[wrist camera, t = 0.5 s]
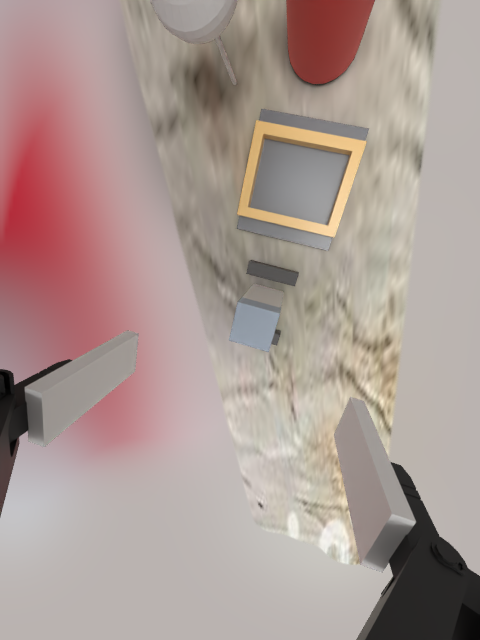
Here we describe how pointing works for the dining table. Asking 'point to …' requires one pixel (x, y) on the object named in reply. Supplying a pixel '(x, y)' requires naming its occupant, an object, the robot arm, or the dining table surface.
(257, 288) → the plug
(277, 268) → the dark gray parallel bars
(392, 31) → the dining table surface
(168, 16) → the lollipop
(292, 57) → the beer can
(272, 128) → the panel
